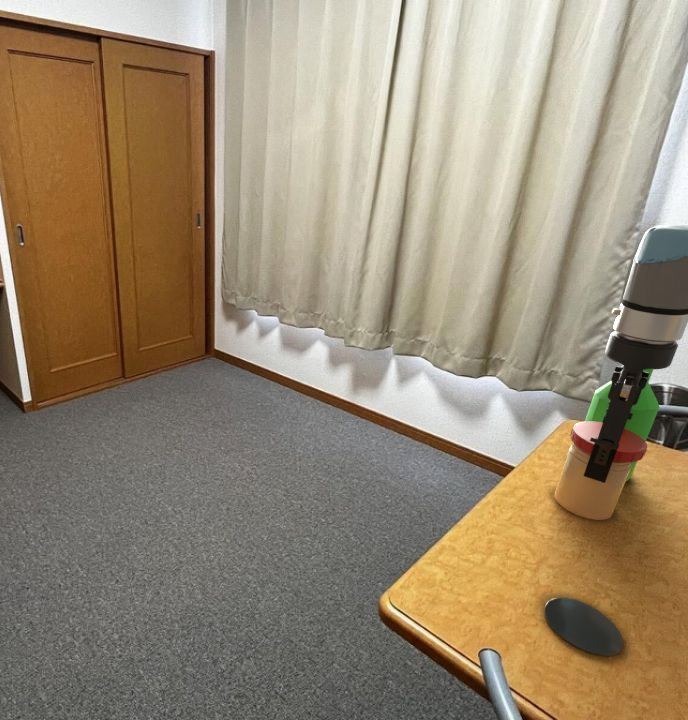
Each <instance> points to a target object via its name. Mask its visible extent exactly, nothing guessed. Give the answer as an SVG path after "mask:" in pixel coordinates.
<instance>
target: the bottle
mask: <svg viewBox="0 0 688 720" xmlns="http://www.w3.org/2000/svg"><path fill="white" fill-rule="evenodd" d="M643 372H648V373H649V376H648V381H647V383H646V386H645V388H644V389H642V391H641V394H640V397H639V399H638V402H637V404H636V405H633V406H632V408H631V411H630V413H632V414H633V415H632V418H631V420H629V419H627V422H626V425H625V428H624V429H627V430H629V431H631V432H633V433H635V434H637V435H638V436H640V437H641V438H642V439H644V440H645V442H646V441H647V439H648V437H649V434H650V432H651V429H652V427H653V424H654V422H655V419H656V417H657V415H658V412H659V409H660V404H659V402H658V400H657V398H656V396H655V393H654V391H653V389H652V387H651V385H650V383H649V382H650V379H651V377H652V374H653V372H654V369H645V370H643ZM611 385H612V382H611V380H610V381H609V382H607V383H605V384H603V385H602V386H600V387H598V388H597V389H596V390H595V392H594V393H593V397H592V399H591V401H590V405H589V408H588V411H587V413H586V417H585V419H584V421H594V422H603V419H604V416H605V415H606V413H607V412H606V410H607V409H608V407H609V401H610V400H609V399H608V394H609V391H610V388H611ZM646 443H647V442H646ZM637 463H638V461H636V462H632V464H631V469H630V472H629V474H628V477H627V479H626V482H627V481H629V480H630V479H631V478H632V475H633V473H634V470H635V468H636V466H637Z"/></svg>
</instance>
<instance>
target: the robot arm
mask: <svg viewBox="0 0 688 720" xmlns="http://www.w3.org/2000/svg"><path fill="white" fill-rule="evenodd" d="M632 260H633V262H632V266H631V270H630V273H629V275H628V280H627V283H626V286H625V290H624V293H623V296H622V299H621V302H620V305H619V308H613V309H612V311H611V314H612V315H613V316H617V317H616V318H615V321H614V324H613V326H612V328H613V330H614V331H612V332H611V333H609V334H610V335H609V337H608V341H607V343H606V346H605V350H604V355H605V356H606V358H608V359H609V360H611V361H613V362H615V363H618V364H621V365H622V366H619V365H615V368H614V371H613V372H612V375H611V379H610V381H611V382H612V385H611V388H610V391H609V394H608V399H609V400H610V401H609V407H608V409H607V410H606V412H607V413H606V415H605V416H604V419H603V422H602V423H603V424H602V427H601V430H600V433H599V436H598V437H597V438H596V439H595V438H592V437H591V439H590V441H591V442H595V444H594V446H593V449H592V452H591V455H590V458H589V461H588V464H587V467H586V470H585V473H584V476H585V477H588V478H591V479H594V480H597V481H600V482H603V483H605V481H606V479H607V476H608V473H609V471H610V468H611V465H612V462H613V460H614V457H615V454H616V451H617V449H618V448H619V442H620V439H621V436H622V433H623V430H624V428H625V425H626V422H627V419H629V420H631V418H632V415H633V414H632V413H630V411H631V408H632V406H633V405H636V404H637V402H638V399H639V397H640V394H641V391H642V389H644V388H645V386H646V383H647V381H648V376H649V373H648V372H643V370H645V369H653V370H663V369H667V368H669V367H670V366H671V365H672V363H673V360H674V357H675V355H676V352H677V350H678V347H679V344H678V343H677V342H678V341H680V340H681V339H682V338H683V336H684V333H685V331H686V327H687V325H688V224H660V225H659V224H658V225H655V226H652V227H650V228H649V229H647V230H646V231H645V233H644V235H643V236H642V239H641V241H640V243H639V245H638V248H637V251H636V253H635V255H634V257H633V259H632Z"/></svg>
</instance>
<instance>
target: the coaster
mask: <svg viewBox="0 0 688 720" xmlns="http://www.w3.org/2000/svg"><path fill="white" fill-rule="evenodd" d="M543 613H544V617H545V621H546V622H547V624H548V626H549V628H551V629H552V631H553V632H554V633H555V634H556V635H557V636H558V637H559V638H561V640H563V641H564V642H566V643H567V644H569V645H570V646H571V647H573V648H575V649H578V650H579V651H581V652H583V653H586V654H589V655H592V656H597V657H613V656H616V655H618V654H619V653H620V652H621V651H622V649H623V646H624V641H623V636H622V634H621V632H620V630H619V629H618V627H617V626H616V624H614V623H613V621H612V620H611V619H610V618H609V617H608V616H606V615H605V614H604V613H603V612H601V611H600V610H598V609H597V608H595V607H593V606H592V605H590V604H588V603H586V602H583V601H580V600H578V599H574V598H569V597H555V598H551V599H550V600H548V601H547V602H546V604H545V606H544V609H543Z"/></svg>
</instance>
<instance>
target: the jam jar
mask: <svg viewBox="0 0 688 720" xmlns="http://www.w3.org/2000/svg"><path fill="white" fill-rule="evenodd" d="M590 455H591V454H590V453H588V452H586V451H584V450H582V449H580V448H579V447H578V446H576V445H575V444H574V443H573V442H572V441H571V446H570V447H569V449H568V452H567V455H566V458H565V461H564V465H563V467H562V470H561V474H560V476H559V478H558V482H557V485H556V488H555V491H554V494H553V496H554V499H555V501H556V503H558V504H559V505H560V506H561V507H562V508H564V509H565V510H567V511H568V512H570V513H572V514H574V515H576V516H578V517H579V516H580V517H582V518H586V519H589V520H597V521H601V520H608V519H610V518H612V516H613V514H614V512H615V510H616V509H615V508H616V506H617V503H618V502H619V499H620V496H621V494H622V491H623V490H624V489H623V488H624V487H625V484H626V482H627V481H626V479H627V477H628V474H629V472H630V469H631V464H632V462H618V461H613V462H612V465H611V468H610V471H609V473H608V476H607V479H606V481H605V483H603V482H600V481H597V480H594V479H591V478H588V477H585V476H584V473H585V470H586V467H587V464H588V461H589V458H590Z"/></svg>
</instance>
